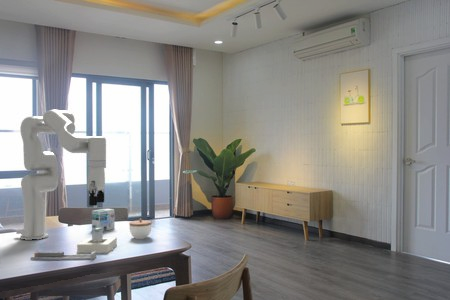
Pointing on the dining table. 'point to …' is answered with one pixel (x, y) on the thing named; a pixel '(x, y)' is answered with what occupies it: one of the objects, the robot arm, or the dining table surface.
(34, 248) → the dining table surface
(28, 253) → the dining table surface
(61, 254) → the lock pin
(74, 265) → the dining table surface
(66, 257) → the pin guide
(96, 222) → the light bulb box
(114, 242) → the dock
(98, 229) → the grey canister
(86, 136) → the robot arm
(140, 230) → the lidded jar
